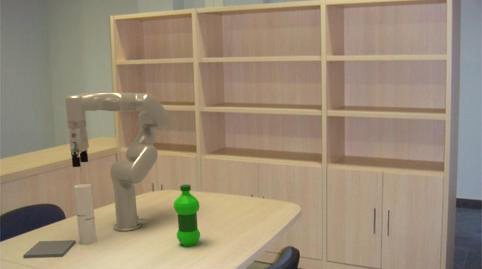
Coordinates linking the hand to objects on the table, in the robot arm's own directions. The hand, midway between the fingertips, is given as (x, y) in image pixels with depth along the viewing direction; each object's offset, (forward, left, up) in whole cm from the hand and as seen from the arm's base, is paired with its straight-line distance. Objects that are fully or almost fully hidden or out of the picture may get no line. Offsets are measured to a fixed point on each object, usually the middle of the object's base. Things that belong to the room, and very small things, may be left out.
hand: (80, 164), depth 227 cm
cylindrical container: (0, 0, -34) cm, 35 cm away
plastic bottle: (-45, +7, -34) cm, 57 cm away
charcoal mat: (+13, +9, -34) cm, 38 cm away
